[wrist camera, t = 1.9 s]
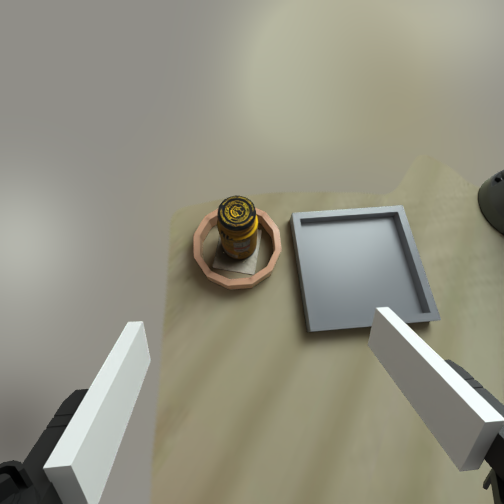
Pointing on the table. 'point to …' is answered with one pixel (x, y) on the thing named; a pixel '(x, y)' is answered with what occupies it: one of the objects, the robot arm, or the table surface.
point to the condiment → (237, 236)
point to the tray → (359, 268)
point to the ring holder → (240, 283)
